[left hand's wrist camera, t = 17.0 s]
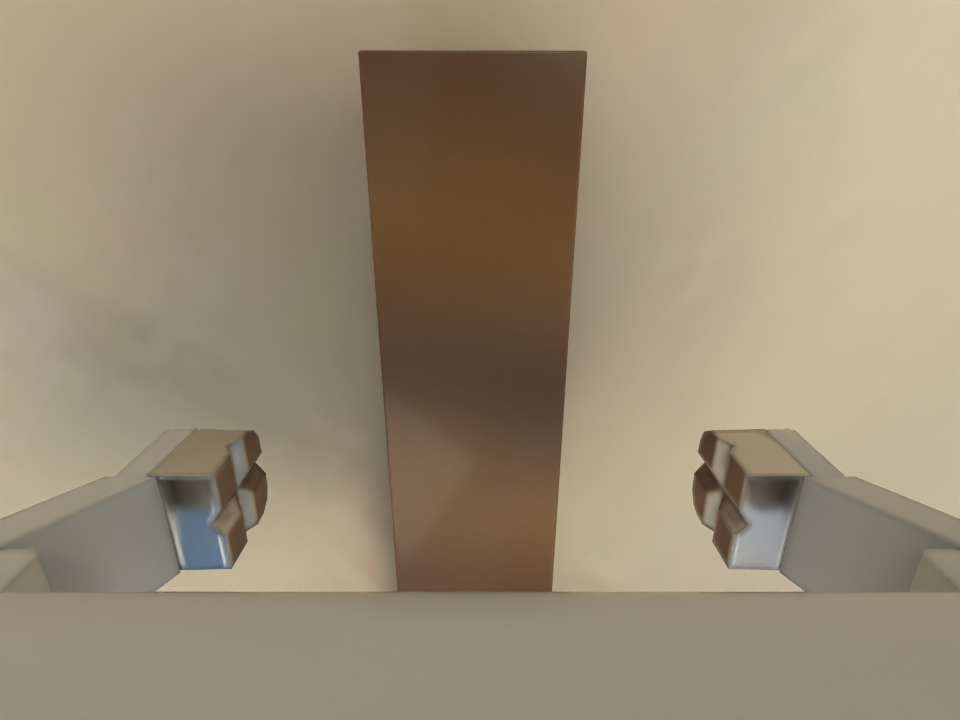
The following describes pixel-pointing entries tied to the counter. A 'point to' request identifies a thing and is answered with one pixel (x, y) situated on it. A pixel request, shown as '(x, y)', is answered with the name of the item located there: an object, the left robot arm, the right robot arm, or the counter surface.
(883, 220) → the counter surface
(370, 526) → the counter surface
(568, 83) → the beam
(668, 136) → the counter surface
